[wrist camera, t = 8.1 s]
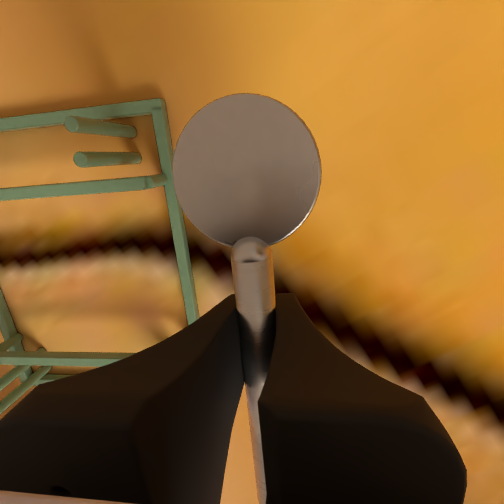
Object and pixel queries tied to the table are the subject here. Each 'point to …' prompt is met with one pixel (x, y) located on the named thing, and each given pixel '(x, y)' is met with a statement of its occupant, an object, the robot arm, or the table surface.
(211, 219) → the spoon
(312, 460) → the robot arm
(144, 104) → the rack
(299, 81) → the table surface
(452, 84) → the table surface
